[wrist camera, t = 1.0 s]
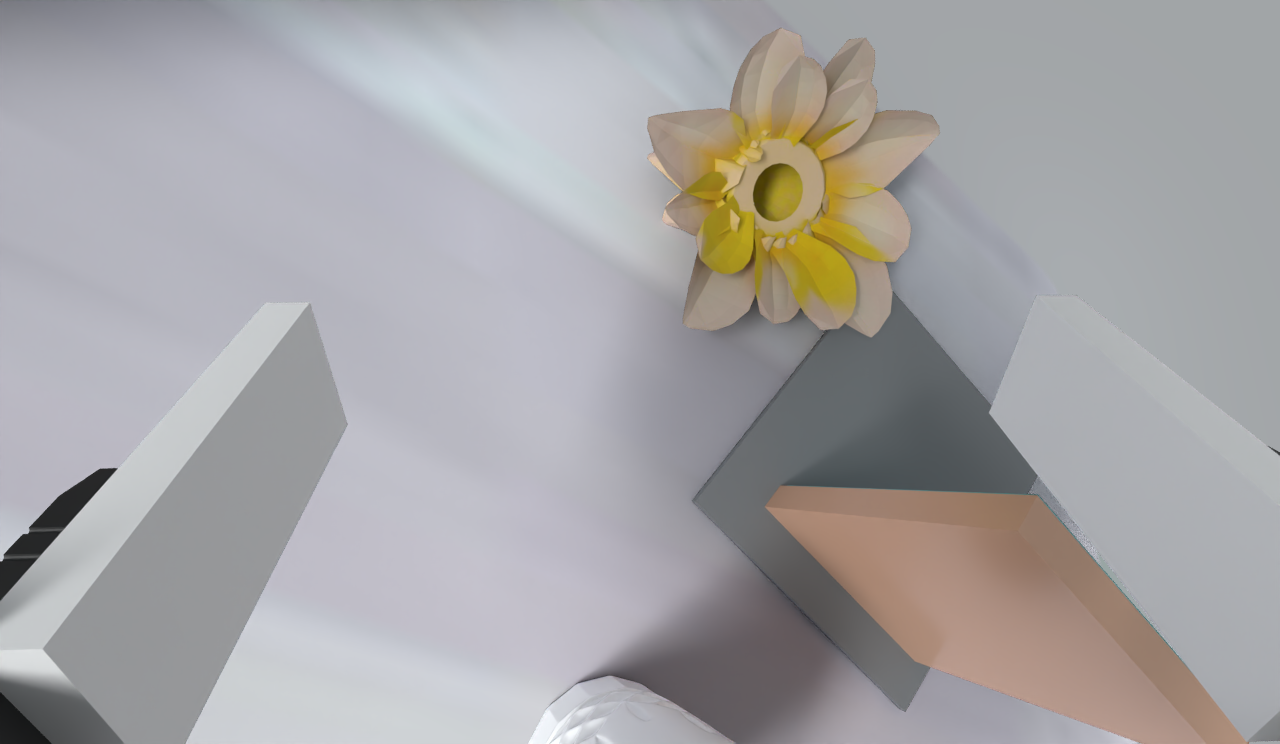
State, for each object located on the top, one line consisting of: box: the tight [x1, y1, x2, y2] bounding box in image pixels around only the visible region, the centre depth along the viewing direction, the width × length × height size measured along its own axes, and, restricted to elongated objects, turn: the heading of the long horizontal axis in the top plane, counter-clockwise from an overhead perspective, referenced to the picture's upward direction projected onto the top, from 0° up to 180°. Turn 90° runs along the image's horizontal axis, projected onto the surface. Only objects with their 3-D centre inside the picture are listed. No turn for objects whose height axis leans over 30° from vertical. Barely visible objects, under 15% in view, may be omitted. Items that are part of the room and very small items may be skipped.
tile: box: [765, 485, 1249, 744], centre depth 27 cm, size 12×2×14 cm, turn 48°
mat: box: [692, 291, 1038, 712], centre depth 35 cm, size 16×17×1 cm
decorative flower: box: [647, 28, 940, 337], centre depth 30 cm, size 15×11×10 cm
